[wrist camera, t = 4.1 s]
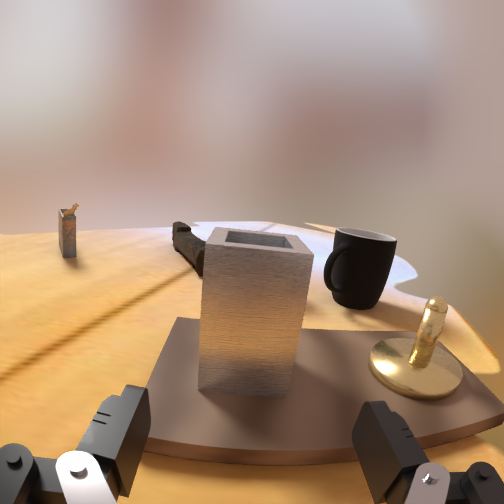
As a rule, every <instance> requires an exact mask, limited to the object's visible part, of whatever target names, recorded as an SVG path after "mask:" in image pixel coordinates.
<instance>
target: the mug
mask: <svg viewBox="0 0 504 504" xmlns="http://www.w3.org/2000/svg"><path fill="white" fill-rule="evenodd" d="M396 243H397V240H396V238H394V237H391V236H388V235H385V234H381V233H377V232H373V231H368V230H362V229H355V228H343V227H342V228H337V229H336V232H335V238H334V246H333V251H332V253H331V254H330V255H329V257H328V259H327V261H326V264H325V267H324V282H325V284H326V286H327V288H328V289H329V290H331V291H332V295H333V298H334V300H335V301H336V302H337V303H339V304H341V305H343V306H346V307H349V308H354V309H370V308H372V307H373V306H374V305H375V304H376V303H377V302H378V300H379V298H380V296H381V294H382V292H383V289H384V287H385V284H386V281H387V279H388V276H389V272H390V269H391V266H392V262H393V258H394V254H395V249H396Z"/></svg>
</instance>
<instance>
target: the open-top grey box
mask: <svg viewBox="0 0 504 504" xmlns="http://www.w3.org/2000/svg"><path fill="white" fill-rule="evenodd" d="M313 258H314V254H313V253H312V252H311V251H310V250H309V249H308V247H307V246H306V245H305V244H304V243H303V242H302V241H301V240H300V239H299V238H298V236H296V235H287V234H278V233H269V232H259V231H250V230H240V229H230V228H220V227H215V229H214V230H213V232H212V234H211V235H210V237H209V238H208V240H207V242H206V243H205V255H204V268H203V283H202V300H201V318H200V340H199V366H198V390H199V391H207V392H216V393H227V394H238V395H252V396H269V397H287V394H288V389H289V385H290V380H291V376H292V371H293V366H294V362H295V357H296V352H297V347H298V342H299V337H300V332H301V327H302V322H303V316H304V311H305V305H306V300H307V294H308V288H309V283H310V277H311V271H312V264H313Z"/></svg>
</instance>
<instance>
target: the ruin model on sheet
mask: <svg viewBox="0 0 504 504" xmlns="http://www.w3.org/2000/svg"><path fill="white" fill-rule="evenodd" d="M76 205H77V204H75V205H73V208H72V209H59V245H60V249H61V252H62V256H63V258H66V257H76V216H75V215H74V211H75V210H76V208H77V206H78V205H77V206H76Z"/></svg>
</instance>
